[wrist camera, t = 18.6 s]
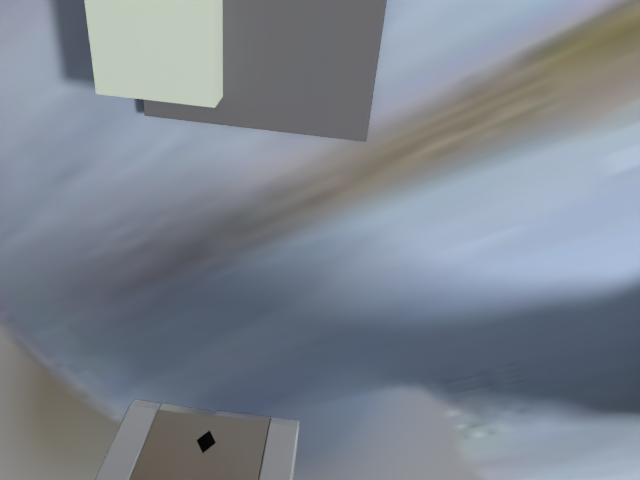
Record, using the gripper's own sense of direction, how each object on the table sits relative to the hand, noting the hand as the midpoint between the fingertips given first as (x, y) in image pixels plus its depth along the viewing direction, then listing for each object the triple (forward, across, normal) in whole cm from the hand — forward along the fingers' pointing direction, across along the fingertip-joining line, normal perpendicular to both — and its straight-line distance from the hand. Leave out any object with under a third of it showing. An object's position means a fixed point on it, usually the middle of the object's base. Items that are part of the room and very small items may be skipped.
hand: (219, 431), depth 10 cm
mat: (+27, +4, 0) cm, 27 cm away
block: (+26, +6, 0) cm, 26 cm away
